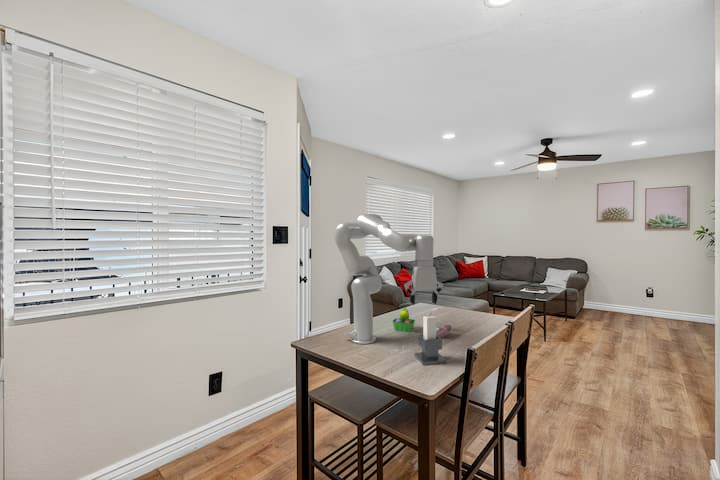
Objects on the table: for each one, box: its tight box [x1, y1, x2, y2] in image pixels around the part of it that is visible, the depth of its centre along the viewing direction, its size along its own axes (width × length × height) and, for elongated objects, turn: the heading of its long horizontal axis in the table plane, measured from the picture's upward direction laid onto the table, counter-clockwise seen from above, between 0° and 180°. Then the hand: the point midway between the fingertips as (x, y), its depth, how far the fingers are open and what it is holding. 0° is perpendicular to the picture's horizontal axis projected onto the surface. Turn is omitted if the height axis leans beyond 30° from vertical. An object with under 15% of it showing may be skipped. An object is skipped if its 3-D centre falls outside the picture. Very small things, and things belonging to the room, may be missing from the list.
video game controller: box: [436, 324, 453, 339], centre depth 160 cm, size 10×5×7 cm, turn 149°
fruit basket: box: [391, 307, 416, 333], centre depth 172 cm, size 11×9×11 cm
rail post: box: [422, 314, 437, 340], centre depth 131 cm, size 4×4×12 cm
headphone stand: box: [426, 307, 441, 333], centre depth 170 cm, size 5×6×12 cm
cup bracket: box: [414, 333, 447, 366], centre depth 131 cm, size 10×10×10 cm
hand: (423, 303), depth 134 cm, fingers open, 9 cm apart
